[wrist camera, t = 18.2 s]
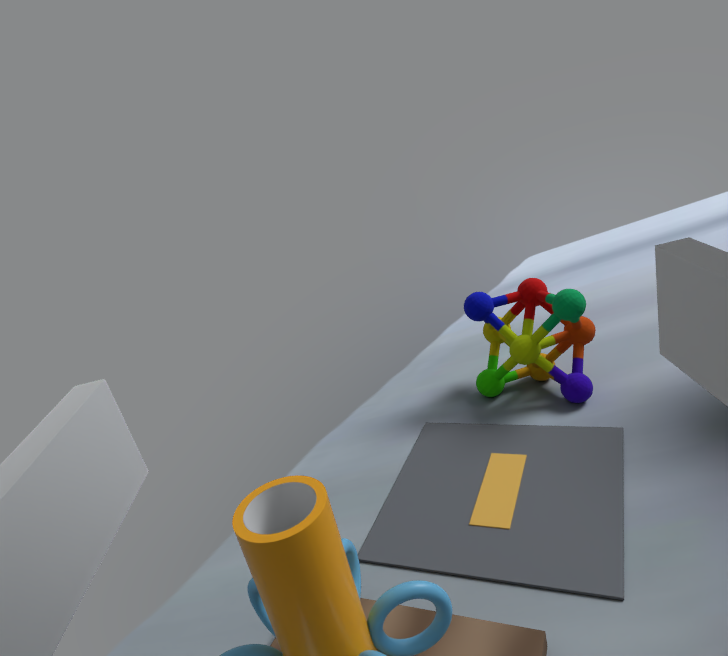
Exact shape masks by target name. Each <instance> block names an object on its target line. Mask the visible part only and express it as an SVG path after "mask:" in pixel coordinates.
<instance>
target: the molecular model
mask: <svg viewBox="0 0 728 656" xmlns="http://www.w3.org/2000/svg"><path fill="white" fill-rule="evenodd" d="M513 302H517V303H516V304H515V305H514V306H513V307H512V308H511V309H510V310H509V311H508V312H507V313H506V314H505V316H504V317H503V318H501V317H497V316H496V315H495V314H494V313H492V312H493V310H494V307H498V306H502V305H506V304H509V303H513ZM539 305H540V306H542V307H543V308H544V309H545V310H547V311H548V312H549V313H550V314H551V316H550V317H549V318H548V319H547V320H546V321H545V322H544V323H543V324H542V325H541V326H540V327H539V328H538V329H537V331H536V332H535V333H534V334H533V335H532V332H533V323H534V315H535V307H536V306H539ZM524 308H525V314H524V321H523V329H522V335H519V336H517V335H516V334H515V333H514V332H513V331H512V330H511V327H510V323H511V322H512V321H513V319H514V318H515V317H516V316H517V315H519V313H520V312H521V311H522V310H523V309H524ZM585 308H586V301H585V298H584V296H583V295H582V294H581V293H580V292H579V291H577V290H574V289H564V290H562V291H560V292H558V293H557V294H556V295H554V294H551V293H548V291H547V287H546V285H545V283H543V282H542V281H541V280H539V279H537V278H528V279H526V280H524V281H523V282H522V283H521V284H520V285H519V287H518V291H517V292H513V293H510V294H506V295H502V296H498V297H494V298H491V297H490V296H489V295H487V294H486V293H483V292H475V293H472V294H471V295H469V296H468V297H467V298H466V300H465V303H464V311H465V314H466V315H467V316H468V317H469V318H470V319H472V320H474V321H484V322H485V324H484V328H483V334H484V336H485V338H486V339H487V340H488V341H489V342H490V343H491V345H490V353H489V361H488V368H487V369H486V370H484V371H482V372H481V373H480V374H479V375H478V377H477V380H476V386H477V389H478V390H479V392H480V393H481V394H482V395H484V396H487V397H494V396H497V395H499V394H500V393H501V392H502V391H503V388H504V386H505V383H507V382H510V381H514V380H517V379H520V378H523V377H526V376H531V377H532V378H533V379H535V380H538V381H545V380H547V379H549V378H551V379H553V380H554V381H556V382H558V383H560V384H561V393H562V395H563V396H564V397H565V398H566V399H567V400H568V401H570V402H573V403H581V402H584V401H586V400H587V399H588V398H589V397H590V396H591V395H592V391H593V385H592V382H591V381H590V379H589V378H588V377H587V376H585V375H584V374H583V355H584V345H585V344H587V343H589V342H590V341H592V340H593V338H594V336H595V326H594V324H593V322H592V321H591V320H590V319H588V318H586V317H583V316H582V314H583V313H584V311H585ZM559 322H561V323H562V324H564V325H565V327H564V331H563V332H560V333H557V334H554V335H551V336H548V337H545V336H546V335H547V334H548V333H549V332H550V331H551V330H552V329H553V328H554V327H555V326H556V325H557V324H558V323H559ZM544 337H545V338H544ZM501 343H506V344H507V345H508V346H509V347H510V355H511V357H510V358H509V359H508V360H507V361H506V362H505V363H504V364H503V365H502V366H501V367H500V368H498V369H497V364H498V356H499V348H500V344H501ZM558 343H559V344H558ZM555 344H558V345H557V346H556V347H555V348H554V349H553V350H552V351H551V352H549V353H548V354H544V353H541V349H544V348H546V347H549V346H552V345H555ZM572 344H574V345H573V364H572V373H571V374H568V375H567V374H566V373H564V372H563V371H562V370H560V369H559V368H558V367H556V366H555V362H554V361H555V360H556V359H557V358H558V357H559V356H560V355H561V354H562V353H564V352H565V351H566V350H567V349H568V348H569V347H570V346H571V345H572ZM518 363H519V364H523V365H527V367H524V368H521V369H518V370H515V371H511V372H509V371H510V370H511V369H513V368H514V367H515V366H516V365H517V364H518Z"/></svg>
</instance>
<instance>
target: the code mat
mask: <svg viewBox="0 0 728 656" xmlns="http://www.w3.org/2000/svg"><path fill="white" fill-rule="evenodd" d="M358 559H359V561H362V562H369V563H376V564H383V565H389V566H396V567H403V568H410V569H416V570H423V571H430V572H436V573H443V574H450V575H457V576H463V577H470V578H477V579H484V580H490V581H497V582H504V583H510V584H517V585H524V586H531V587H537V588H544V589H551V590H558V591H564V592H571V593H578V594H585V595H591V596H598V597H605V598H611V599H618V600H624V508H623V428H613V427H575V426H537V425H498V424H460V423H426V424H425V426H424V428H423V429H422V431H421V433H420V435H419V437H418V439H417V441H416V443H415V445H414V447H413V449H412V451H411V453H410V455H409V457H408V459H407V461H406V463H405V464H404V466H403V468H402V470H401V472H400V474H399V476H398V478H397V480H396V482H395V484H394V486H393V488H392V490H391V492H390V494H389V496H388V498H387V499H386V501H385V503H384V505H383V507H382V509H381V511H380V513H379V515H378V517H377V519H376V521H375V523H374V525H373V527H372V529H371V531H370V533H369V534H368V536H367V538H366V540H365V542H364V544H363V546H362V548H361V550H360V552H359V554H358Z"/></svg>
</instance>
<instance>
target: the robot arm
mask: <svg viewBox="0 0 728 656" xmlns="http://www.w3.org/2000/svg"><path fill="white" fill-rule="evenodd" d="M655 258H656V279H657V300H658V322H659V343H660V354H661V355H663V356H664V357H665V358H666V359H668V360H669V361H670V362H671V363H673V364H674V365H675V366H677V367H678V368H679V369H680V370H682V371H683V372H684V373H685V374H687V375H688V376H689V377H691V378H692V379H693V380H694V381H696V382H697V383H698V384H699V385H701V386H702V387H703V388H704V389H706V390H707V391H708V392H710V393H711V394H712V395H713V396H715V397H716V398H717V399H718V400H720V401H721V402H722V403H723V404H725V405H726V406H727V407H728V252H725V251H723V250H720V249H717V248H715V247H712V246H710V245H707V244H705V243H702V242H699V241H697V240H694V239H692V238H685V239H681V240H676V241H672V242H668V243H664V244H660V245H656V246H655ZM148 472H149V471H148V469H147V467H146V465H145V463H144V461H143V458H142V456H141V454H140V452H139V450H138V448H137V446H136V444H135V442H134V439H133V437H132V435H131V433H130V431H129V429H128V427H127V425H126V423H125V420H124V418H123V416H122V414H121V412H120V410H119V408H118V406H117V403H116V401H115V399H114V397H113V395H112V393H111V391H110V389H109V387H108V384H107V382H106V380H105V379H102V380H97V381H93V382H89V383H85V384H81V385H77V386H74V387H73V388H72V389H71V390H70V391H69V392H68V393H67V395H66V396H65V397H64V398H63V399H62V400H61V401H60V402H59V403H58V404H57V405H56V406H55V407H54V408H53V409H52V411H50V413H49V414H48V415H47V416H46V417H45V418H44V419H43V420H42V421H41V422H40V423H39V424H38V425H37V426H36V427H35V429H34V430H33V431H32V432H31V433H30V434H29V435H28V436H27V437H26V438H25V439H24V440H23V441H22V442H21V443H20V445H18V447H17V448H16V449H15V450H14V451H13V452H12V453H11V454H10V455H9V456H8V457H7V458H6V459H5V460H4V461H3V462H2V463H1V465H0V656H52V655H53V653H54V652H55V650H56V648H57V646H58V644H59V642H60V640H61V638H62V636H63V634H64V632H65V631H66V629H67V626H68V625H69V623H70V621H71V619H72V617H73V615H74V613H75V611H76V609H77V607H78V606H79V604H80V602H81V600H82V598H83V596H84V594H85V592H86V590H87V588H88V587H89V585H90V583H91V581H92V579H93V577H94V575H95V573H96V571H97V569H98V567H99V565H100V564H101V562H102V560H103V558H104V556H105V554H106V552H107V550H108V548H109V546H110V544H111V543H112V541H113V539H114V537H115V535H116V533H117V531H118V529H119V527H120V525H121V523H122V521H123V520H124V518H125V516H126V514H127V512H128V510H129V508H130V506H131V504H132V502H133V501H134V498H135V497H136V495H137V493H138V491H139V489H140V487H141V485H142V483H143V481H144V479H145V478H146V476H147V474H148Z"/></svg>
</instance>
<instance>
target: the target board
mask: <svg viewBox="0 0 728 656" xmlns="http://www.w3.org/2000/svg"><path fill="white" fill-rule="evenodd" d="M360 602H361V605H362V608H363V611H364V614H365V617H366V621H367V619H368V616H369V613H370V610H371V609H372V607H373V605H374V604H375V602H376V601H375V600H369V599H363V598H360ZM435 615H436V612H435V611H430V610H424V609H419V608H413V607H408V606H402V605H398V606H396V607H395V608H394V609H393V610H392V611H391V612H390V613H389V614H388V615H387V617H386V618H385V621H384V623H383V630H384V632H385V634H386V635H387V636H389V637H391V638H394V639H406V638H410V637H413V636H416V635H418V634H420V633H421V632H423V631H424V630H425V629H426V628H428V627H429V625H430V624H431V623H432V622H433V620H434V618H435ZM271 647H273V648H276V649H277V650H279V651H281V649H280V646H279V643H278V641H277V638H276V637H275V639H274V641H273V642H272V644H271ZM281 652H282V651H281ZM546 653H547V641H546V634H545V631H541V630H535V629H530V628H524V627H519V626H513V625H507V624H502V623H496V622H491V621H485V620H480V619H474V618H469V617H463V616H458V615H452V619H451V622H450V625H449V627H448V629H447V631H446V633H445V634H444V635H443V637H442V638H441V639H440V640H439V641H438V642H437V643H436V644H435V645H433V646H432V647H431V648H429V649H427V650H426V651H424V652H422V653H419V654H417V655H413V656H546Z"/></svg>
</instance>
